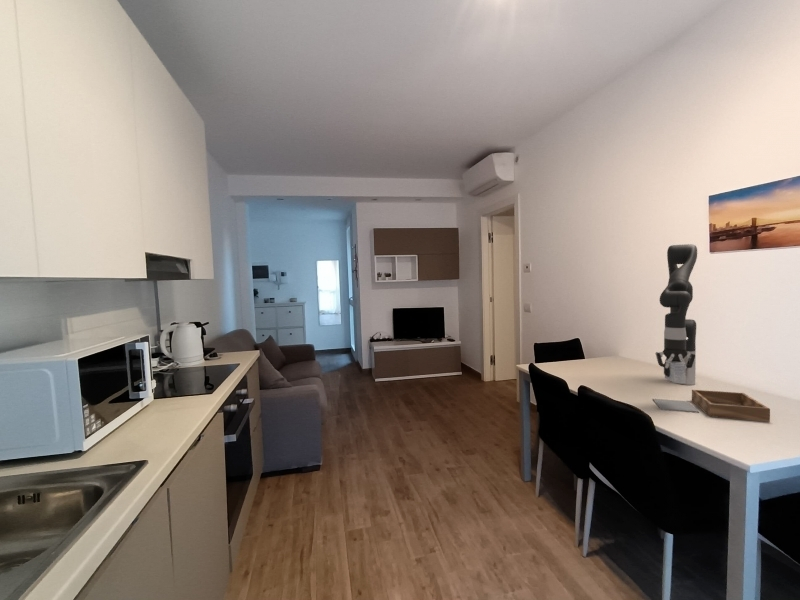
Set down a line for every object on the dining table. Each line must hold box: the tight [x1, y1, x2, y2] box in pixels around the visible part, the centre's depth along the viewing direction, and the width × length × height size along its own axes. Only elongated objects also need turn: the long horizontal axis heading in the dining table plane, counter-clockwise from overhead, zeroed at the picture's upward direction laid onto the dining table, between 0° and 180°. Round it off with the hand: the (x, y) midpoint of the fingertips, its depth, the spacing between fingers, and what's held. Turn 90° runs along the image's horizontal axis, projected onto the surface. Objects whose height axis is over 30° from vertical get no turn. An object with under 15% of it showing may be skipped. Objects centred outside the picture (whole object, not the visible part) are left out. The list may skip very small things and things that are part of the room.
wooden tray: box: [691, 389, 771, 423], centre depth 149 cm, size 20×18×5 cm
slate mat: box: [652, 398, 700, 414], centre depth 156 cm, size 13×13×1 cm
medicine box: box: [664, 361, 686, 384], centre depth 155 cm, size 8×4×9 cm, turn 168°
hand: (674, 376), depth 155 cm, fingers closed on medicine box, 5 cm apart
